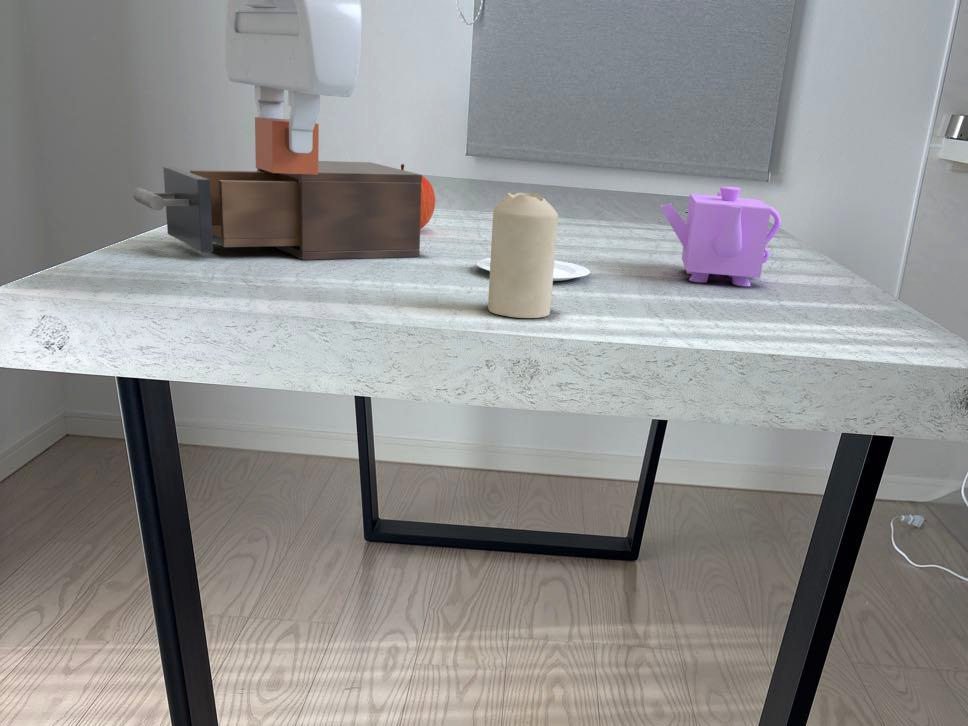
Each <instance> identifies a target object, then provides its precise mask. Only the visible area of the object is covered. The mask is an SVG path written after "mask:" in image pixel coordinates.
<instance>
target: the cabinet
mask: <svg viewBox="0 0 968 726" xmlns="http://www.w3.org/2000/svg"><path fill="white" fill-rule="evenodd" d="M256 171H265V170H262V169H259V168H256ZM278 174H282V175H285V176H288V177H291V178H295V179H298V180H299V232H300V246H272V247H273V248H275V249H278V250H280V251H283V252H284V253H287V254H289V255H291V256H292V257H293V256H294V257H295V258H298V259H301V260H302V261H311V260H313V261H314V260H348V259H349V260H350V259H352V260H353V259H383V258H384V259H388V258H420V253H421V251H420V249H421V229H420V220H421V184H422V183H421V182H422V176H423V175H422V174H420V173H416V172H413V171H407V170H405V169H404V170H401V168H400V169H399V168H396V167H392V166H388V165H383V164H380V163H379V164H378V163H376V162H370V161H369V162H368V161H333V160H332V161H331V160H318V175H313V174H286V173H278Z"/></svg>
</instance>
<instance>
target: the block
mask: <svg viewBox="0 0 968 726" xmlns="http://www.w3.org/2000/svg"><path fill="white" fill-rule="evenodd" d="M289 120H290V118H289V119H288V118H284V119H276V118H261V117H259V116H255V117H254V140H255V141H254V142H255V143H254V144H255V145H254V149H255V168H256V169H257V168H259V169H262V170H265V171H268V172H272V173H286V174H313V175H318V161H319V152H320V151H319V148H320V147H319V142H320V141H319V139H320V138H319V137H320V134H319V133H320V132H319V131H320V129H319V126H320V125H319V123H315V126H314V129H313V136H312V151H311V152H310V153H295V152H291V151H289V150H287V149H286V146H285V141H286V138H285V128H289Z"/></svg>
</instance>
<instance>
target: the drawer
mask: <svg viewBox="0 0 968 726" xmlns="http://www.w3.org/2000/svg"><path fill="white" fill-rule="evenodd" d="M163 183H164V192H152V191H149V190H147V189H144V188H142V187H137V188H135V190H134V191H133V193H132V196H133V199H134V200H135V201H136V202H137V203H139V204H141V205H143V206H146V207H147V208H149V209H152V210H154V211H158V212H159V211H161V210H162V209H163V208H164V207H165V214H166V228H167V235H169V236H171V237H173V238H174V239H177V240H178V241H180V242H182V243H184V244H186V245H187V246H189V247H192V248H194V249H195V250H197V251H199V252H201V253H212V252H214V244H216V245H219V246H222V247H223V248H257V247H258V248H259V247H260V248H261V247H262V248H263V247H265V248H266V247H273V246H300V232H299V180H298V179H295V178H291V177H288V176H285V175H282V174H278V173H272V172H268V171H257V170H221V169H220V170H215V169H211V170H210V169H207V170H206V169H189V171H187V170H184V169H181V168H179V167H176V166H163Z"/></svg>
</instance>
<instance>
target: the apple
mask: <svg viewBox="0 0 968 726" xmlns="http://www.w3.org/2000/svg"><path fill="white" fill-rule="evenodd" d="M400 170H404V171H405V164H404V163H401V164H400ZM421 183H422V184H421V220H420V230H421V229H423V228H424V227H425V226H426V225H428V223H429V222H430V220H431V219H432V216H433V215H434V211H435V206H436V194H435V190H434V187H433V185H432V183H431V182H430V181H429V179H428V178H426V176H424V175H422V182H421Z"/></svg>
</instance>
